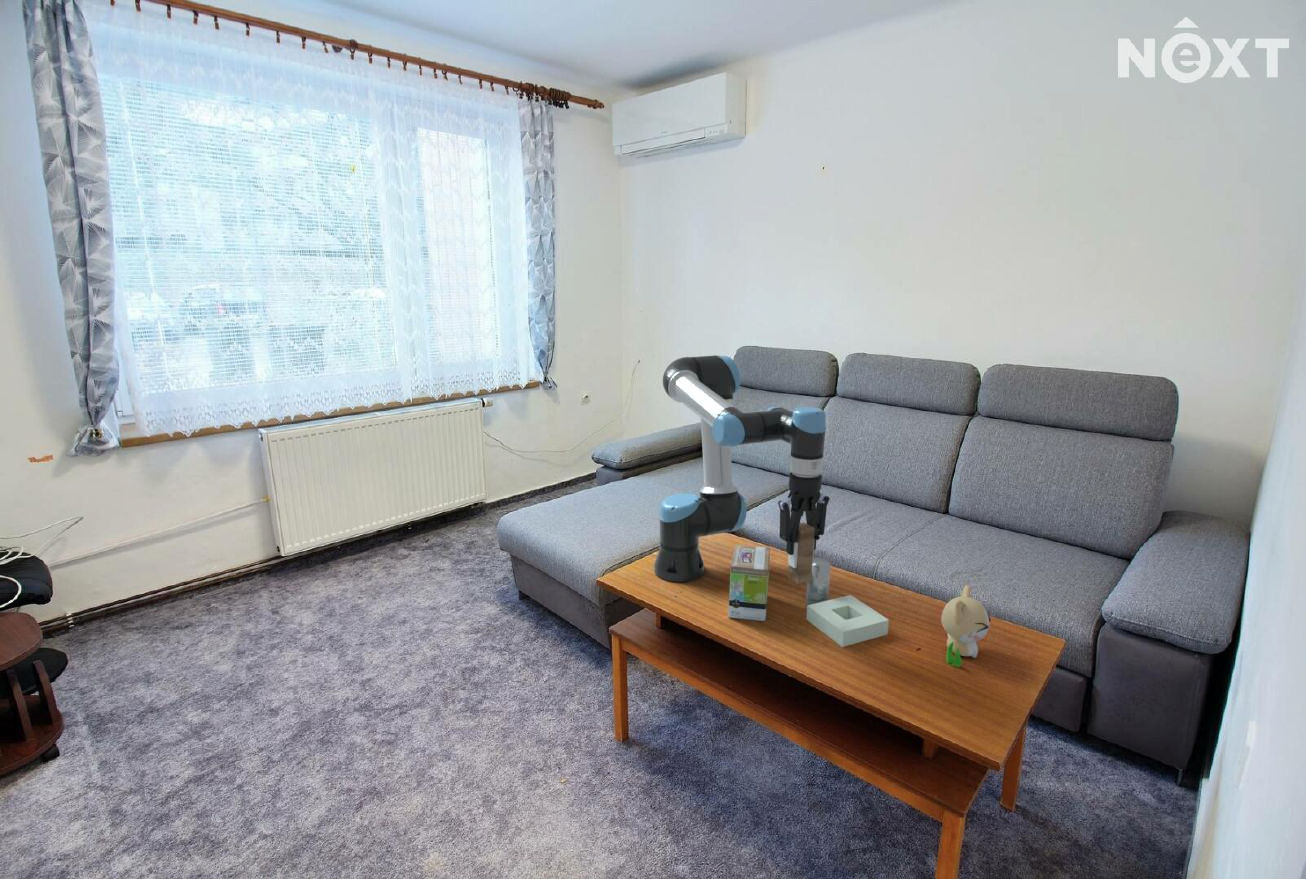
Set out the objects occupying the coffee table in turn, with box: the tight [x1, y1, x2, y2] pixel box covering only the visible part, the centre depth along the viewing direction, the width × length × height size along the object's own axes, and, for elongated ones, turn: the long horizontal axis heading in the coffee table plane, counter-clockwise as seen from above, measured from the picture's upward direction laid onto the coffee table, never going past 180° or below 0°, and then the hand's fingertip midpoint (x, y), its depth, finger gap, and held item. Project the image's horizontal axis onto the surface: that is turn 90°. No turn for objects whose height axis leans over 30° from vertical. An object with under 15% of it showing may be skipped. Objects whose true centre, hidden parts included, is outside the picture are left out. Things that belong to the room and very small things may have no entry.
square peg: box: [787, 522, 815, 585], centre depth 150 cm, size 4×4×14 cm
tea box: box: [728, 544, 771, 622], centre depth 165 cm, size 15×10×15 cm
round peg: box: [805, 557, 831, 606], centre depth 167 cm, size 6×6×12 cm
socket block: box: [805, 594, 890, 648], centre depth 156 cm, size 14×14×4 cm
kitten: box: [940, 584, 992, 668], centre depth 143 cm, size 15×10×15 cm
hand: (800, 563), depth 151 cm, fingers closed on square peg, 4 cm apart
